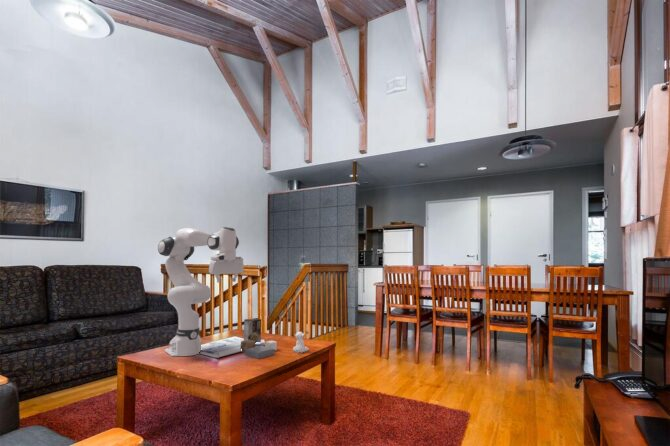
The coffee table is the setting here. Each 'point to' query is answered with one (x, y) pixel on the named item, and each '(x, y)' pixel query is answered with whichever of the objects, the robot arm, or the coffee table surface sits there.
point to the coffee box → (252, 329)
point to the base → (259, 352)
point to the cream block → (271, 344)
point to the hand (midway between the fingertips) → (226, 282)
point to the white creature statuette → (300, 343)
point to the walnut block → (247, 344)
